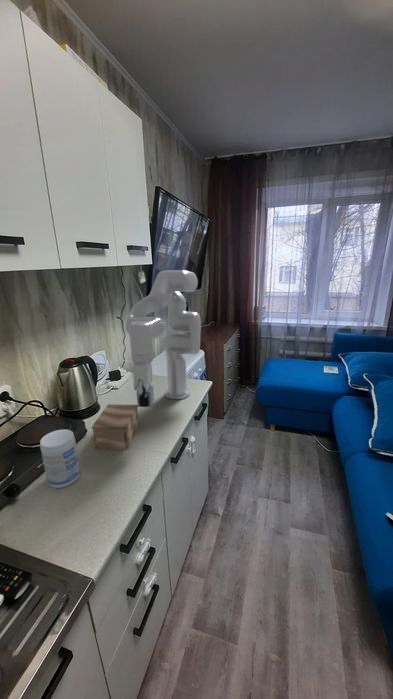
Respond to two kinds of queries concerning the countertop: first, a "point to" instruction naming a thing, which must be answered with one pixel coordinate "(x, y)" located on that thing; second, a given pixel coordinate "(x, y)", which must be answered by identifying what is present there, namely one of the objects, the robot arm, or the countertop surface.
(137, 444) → the countertop surface
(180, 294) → the robot arm
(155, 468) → the countertop surface
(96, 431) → the box
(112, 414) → the lid
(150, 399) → the block
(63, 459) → the supplement tub
